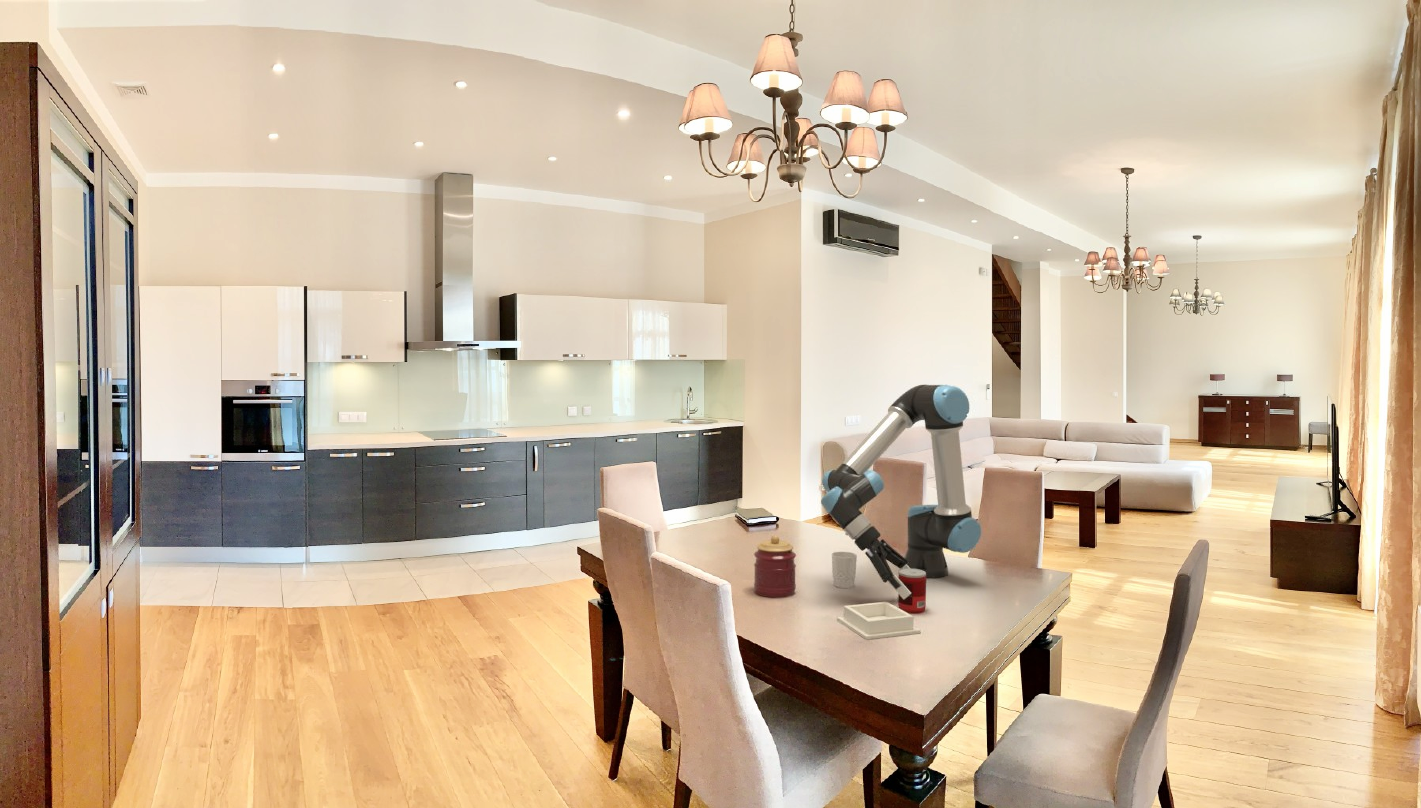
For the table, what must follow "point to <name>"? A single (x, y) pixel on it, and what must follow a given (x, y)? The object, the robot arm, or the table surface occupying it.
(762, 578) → the canister
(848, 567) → the white cup
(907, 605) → the canned food
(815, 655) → the table surface
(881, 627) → the white square tray
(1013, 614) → the table surface
